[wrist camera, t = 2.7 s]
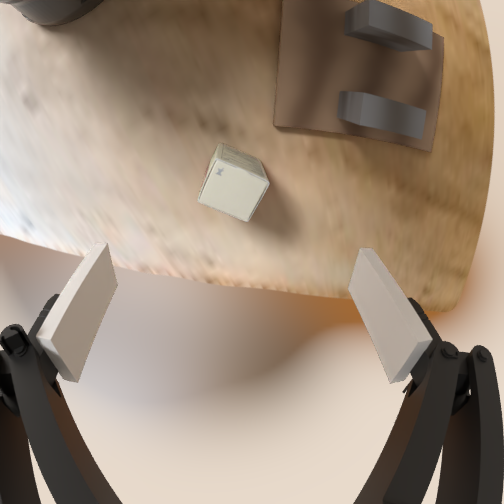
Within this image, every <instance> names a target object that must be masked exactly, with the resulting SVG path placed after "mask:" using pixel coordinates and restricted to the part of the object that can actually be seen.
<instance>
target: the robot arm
mask: <svg viewBox="0 0 504 504" xmlns="http://www.w3.org/2000/svg"><path fill="white" fill-rule="evenodd" d="M102 1H103V0H0V3H7V4H11V5H12V6H13V7H14V8H16V9H17V10H18V11H19V12H21V13H22V15H23V16H24V17H25V18H26V19H27V20H29V21H31V22H33V23H36V24H42V25H47V26H55V25H61V24H64V23H68V22H70V21H73V20H75V19H77V18H79V17H81V16H83V15H84V14H86V13H87V12H89V11H90V10H92V9H93V8H95V7H96V6H97V5H99V4H100V3H101V2H102ZM117 286H118V284H117V281H116V277H115V273H114V269H113V265H112V260H111V256H110V252H109V247H108V243H95V244H94V245H93V247H92V248H91V249H90V251H89V252H88V253H87V255H86V256H85V258H84V259H83V261H82V262H81V263H80V265H79V266H78V268H77V269H76V271H75V272H74V274H73V275H72V277H71V278H70V280H69V281H68V283H67V284H66V286H65V288H64V289H63V291H62V292H61V294H55V295H54V296H53V297H51V298H50V299H49V300H48V301H47V303H46V305H45V306H44V308H43V310H42V311H41V313H40V314H39V317H38V318H37V320H36V321H35V323H34V325H33V326H32V328H31V330H30V332H29V334H28V335H27V334H26V333H25V331H24V329H23V328H22V326H20V325H19V324H13V325H9V326H8V327H6V328H5V329H4V330H3V331H2V332H1V334H0V345H1V346H2V347H3V349H4V350H2V351H0V504H41V501H40V498H39V494H38V490H37V486H36V482H35V477H34V473H33V467H32V462H31V456H30V450H29V442H30V445H31V448H32V450H33V453H34V456H35V458H36V461H37V463H38V466H39V468H40V470H41V473H42V475H43V477H44V480H45V482H46V484H47V486H48V488H49V490H50V492H51V494H52V496H53V498H54V500H55V502H56V504H122V502H121V501H120V500H119V498H118V497H117V495H116V494H115V492H114V491H113V489H112V488H111V486H110V485H109V483H108V482H107V480H106V479H105V477H104V475H103V474H102V472H101V470H100V469H99V467H98V465H97V464H96V462H95V461H94V458H93V457H92V455H91V453H90V451H89V449H88V448H87V446H86V444H85V442H84V440H83V438H82V436H81V434H80V432H79V430H78V428H77V425H76V423H75V421H74V419H73V417H72V415H71V412H70V410H69V408H68V405H67V403H66V401H65V398H64V395H63V393H62V390H61V388H60V385H59V382H58V381H57V379H56V376H57V373H58V372H59V374H60V375H61V376H62V378H63V379H64V380H67V381H72V382H77V383H78V381H79V378H80V375H81V373H82V370H83V367H84V364H85V362H86V359H87V356H88V354H89V351H90V349H91V346H92V343H93V341H94V338H95V336H96V333H97V331H98V328H99V326H100V324H101V322H102V319H103V317H104V315H105V312H106V310H107V308H108V305H109V303H110V301H111V299H112V297H113V295H114V292H115V290H116V288H117ZM348 290H349V292H350V294H351V296H352V298H353V300H354V302H355V305H356V307H357V309H358V311H359V313H360V315H361V317H362V320H363V322H364V324H365V326H366V328H367V330H368V333H369V335H370V337H371V339H372V342H373V344H374V346H375V348H376V351H377V353H378V355H379V358H380V360H381V362H382V365H383V367H384V370H385V372H386V374H387V377H388V379H389V382H390V383H395V382H400V381H404V380H405V379H406V377H407V376H408V375H409V373H411V375H412V378H413V379H412V380H411V381H410V383H409V384H408V385H407V386H406V388H405V389H404V390H403V393H405V392H406V390H407V392H406V395H405V398H404V401H403V403H402V406H401V408H400V411H399V414H398V416H397V419H396V421H395V424H394V426H393V428H392V431H391V433H390V435H389V438H388V440H387V442H386V444H385V446H384V448H383V451H382V453H381V455H380V457H379V459H378V461H377V463H376V465H375V467H374V469H373V471H372V472H371V474H370V476H369V478H368V480H367V482H366V483H365V485H364V487H363V489H362V490H361V492H360V494H359V496H358V497H357V499H356V500H355V502H354V503H353V504H421V503H422V501H423V498H424V496H425V494H426V491H427V489H428V486H429V484H430V481H431V479H432V476H433V473H434V471H435V468H436V465H437V462H438V459H439V456H440V453H441V449H442V446H443V452H442V463H441V472H440V479H439V486H438V493H437V498H436V503H435V504H502V503H501V502H502V493H503V480H504V436H503V422H502V411H501V403H500V395H499V390H498V383H497V377H496V372H495V367H494V362H493V358H492V355H491V353H490V352H489V350H488V349H486V348H485V347H483V346H481V345H477V346H475V347H474V348H473V349H472V350H471V352H470V353H466V352H459V351H458V349H457V348H456V347H455V346H454V345H453V344H451V343H450V342H446V341H442V339H441V338H440V336H439V334H438V333H437V331H436V330H435V328H434V326H433V325H432V323H431V322H430V320H428V317H427V315H426V314H424V311H423V309H422V308H421V306H420V305H419V304H418V303H417V302H416V301H415V300H414V299H412V298H407V297H406V296H405V294H404V293H403V291H402V290H401V288H400V287H399V285H398V284H397V282H396V281H395V279H394V278H393V276H392V275H391V274H390V272H389V271H388V269H387V268H386V266H385V265H384V264H383V262H382V261H381V259H380V258H379V257H378V255H377V254H376V252H375V251H374V250H373V248H360V249H359V253H358V256H357V260H356V263H355V267H354V270H353V273H352V277H351V280H350V283H349V286H348ZM469 390H471V395H470V394H469ZM28 439H29V442H28Z"/></svg>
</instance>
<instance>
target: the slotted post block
mask: <svg viewBox="0 0 504 504" xmlns="http://www.w3.org/2000/svg"><path fill="white" fill-rule="evenodd" d="M443 53H444V37H442V36H440V35H438V34H436V33H434V32H432V24H431V23H429V22H427V21H425V20H423V19H421V18H419V17H416V16H414V15H412V14H410V13H407V12H405V11H403V10H400V9H398V8H395V7H393V6H390V5H387V4H385V3H382V2H379V1H376V0H365V1H363V2H361V3H357V2H354V1H350V0H282V11H281V26H280V41H279V55H278V68H277V82H276V95H275V108H274V120H273V125H274V126H282V127H293V128H303V129H312V130H320V131H328V132H335V133H341V134H348V135H354V136H360V137H365V138H371V139H376V140H381V141H386V142H390V143H395V144H399V145H404V146H408V147H412V148H416V149H420V150H424V151H428V152H431V150H432V145H433V140H434V135H435V129H436V123H437V116H438V109H439V101H440V93H441V83H442V71H443Z"/></svg>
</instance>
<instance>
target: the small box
mask: <svg viewBox="0 0 504 504" xmlns="http://www.w3.org/2000/svg"><path fill="white" fill-rule="evenodd" d="M269 184H270V183H269V180H268V178H267V175H266V173H265V170H264V168H263V166H262V163H261V161H260V160H259V159H257V158H255V157H253V156H251V155H249V154H247V153H244V152H242V151H240V150H238V149H235V148H233V147H231V146H228V145H226V144H223V143H219V144H218V146H217V148H216V150H215V152H214V154H213V156H212V159H211V161H210V163H209V165H208V168H207V170H206V173H205V176H204V179H203V182H202V186H201V189H200V193H199V197H198V202H199V203H201V204H203V205H206V206H208V207H210V208H213V209H215V210H217V211H220V212H222V213H225V214H227V215H230V216H232V217H235V218H238V219H240V220H243V221H245V222H248V221H249V220H250V218H251V216H252V214H253V213H254V211H255V209H256V208H257V206H258V204H259V203H260V201H261V199H262V197H263V196H264V194H265V192H266V190H267V188H268V186H269Z"/></svg>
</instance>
